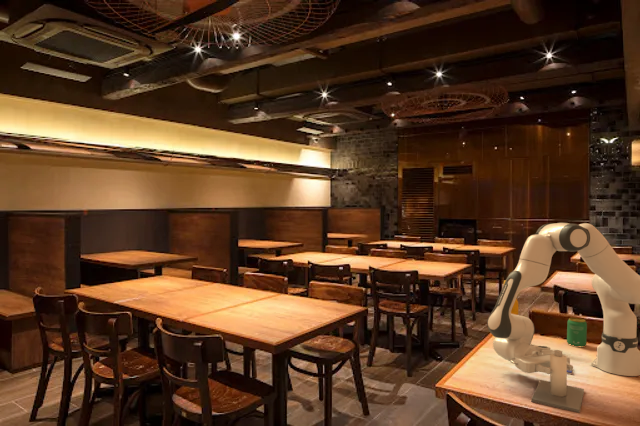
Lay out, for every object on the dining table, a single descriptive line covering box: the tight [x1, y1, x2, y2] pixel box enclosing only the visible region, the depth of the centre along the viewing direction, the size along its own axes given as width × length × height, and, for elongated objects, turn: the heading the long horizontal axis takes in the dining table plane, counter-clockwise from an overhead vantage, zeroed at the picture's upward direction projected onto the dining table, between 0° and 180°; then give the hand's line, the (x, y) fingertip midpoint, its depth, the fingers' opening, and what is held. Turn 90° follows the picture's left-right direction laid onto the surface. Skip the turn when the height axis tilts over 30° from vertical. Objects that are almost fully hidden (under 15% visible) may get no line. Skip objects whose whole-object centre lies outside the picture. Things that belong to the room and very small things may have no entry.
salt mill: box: [549, 349, 568, 397], centre depth 156 cm, size 5×5×15 cm
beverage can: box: [566, 317, 588, 347], centre depth 215 cm, size 8×8×12 cm
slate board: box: [531, 379, 585, 414], centre depth 156 cm, size 20×14×1 cm
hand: (561, 370), depth 155 cm, fingers open, 8 cm apart
